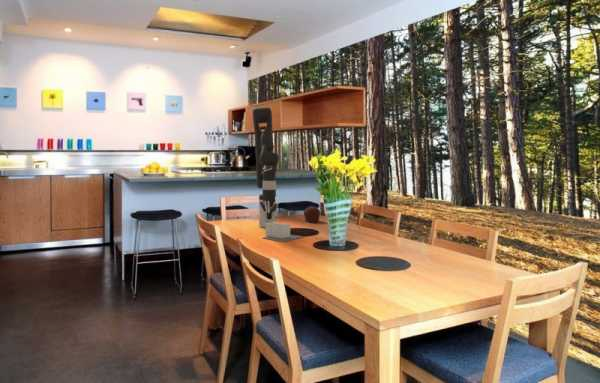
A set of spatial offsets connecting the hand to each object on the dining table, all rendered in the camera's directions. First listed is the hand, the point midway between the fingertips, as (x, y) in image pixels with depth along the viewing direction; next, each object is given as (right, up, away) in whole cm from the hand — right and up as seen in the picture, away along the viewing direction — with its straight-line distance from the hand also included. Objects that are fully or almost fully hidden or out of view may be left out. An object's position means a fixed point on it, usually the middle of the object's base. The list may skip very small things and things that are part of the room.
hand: (269, 219), depth 273 cm
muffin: (+25, -5, +54) cm, 60 cm away
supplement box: (0, -5, +1) cm, 5 cm away
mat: (+8, -10, -4) cm, 13 cm away
